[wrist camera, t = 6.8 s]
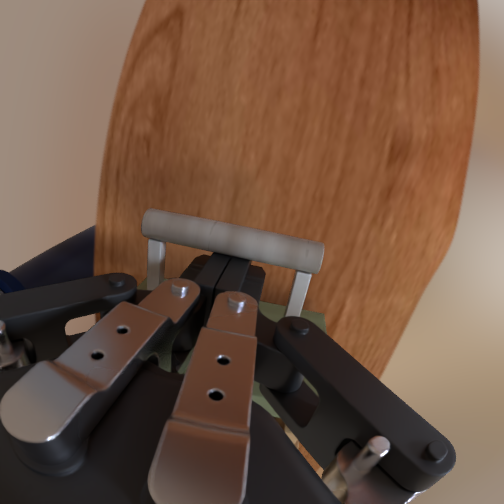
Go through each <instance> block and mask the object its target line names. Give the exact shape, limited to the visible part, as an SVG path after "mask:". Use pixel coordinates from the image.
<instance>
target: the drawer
mask: <svg viewBox="0 0 504 504" xmlns="http://www.w3.org/2000/svg"><path fill="white" fill-rule="evenodd" d="M141 231H142V235H143V236H144V237H147V238H150V239H149V240H148V264H147V278H146V279H145V280H144V281H143V282H142V283H141V284H140V285H139V286H138V287H137V289H141V290H154V289H155V288H156V287H157V286H158V285H160V284H161V283H162V282H163V281H165V280H167V279H165V278H164V269H165V251H166V242H169V243H174V244H178V245H183V246H188V247H192V248H197V249H201V250H206V251H211V252H215V253H220V254H224V255H229V256H234V257H238V258H243V259H248V260H252V261H257V262H262V263H267V264H271V265H276V266H281V267H285V268H290V269H295V274H294V278H293V282H292V286H291V289H290V293H289V297H288V301H287V305H286V306H282V305H277V304H272V303H268V302H263V301H260V302H259V306H258V307H259V310H260V311H261V313H262V314H263V315H264V316H266V317H267V318H269V319H270V320H272V321H275V322H278V321H279V320H280V319H281V318H283V317H286V316H298V317H302V318H305V319H308V320H310V321H312V322H313V323H315V324H316V325H317V326H318V327H319V328H320V329H321V330H323V331H324V332H325V333H326V334H327V332H326V324H325V317H324V314H322V313H317V312H312V311H307V310H302V307H303V303H304V300H305V296H306V293H307V290H308V286H309V282H310V279H311V273H314V274H317V273H318V272H319V270H320V267H321V264H322V260H323V255H324V244H323V243H321V242H316V241H312V240H307V239H303V238H298V237H293V236H289V235H284V234H279V233H274V232H270V231H265V230H260V229H255V228H250V227H245V226H240V225H236V224H231V223H226V222H221V221H215V220H210V219H205V218H200V217H195V216H190V215H185V214H179V213H174V212H169V211H163V210H158V209H153V208H150V209H148V210H147V211H146V212H145V214H144V216H143V219H142V224H141ZM188 365H189V363H188ZM188 365H187V367H186V368H185V370H184V372H183V373H182V374H185V373H186V371H187V368H188ZM303 381H304V382H305V383H306V384H307V385H308V386H309V387H310V388H311V389H312V390H313V391H314V392H315V393H316V395H317V396H318V397H319V395H318V393H317V391H316V389H315V388H314V387H313V386H312V385H311V384H310V382H309V381H308V380H307V379H306V378H305V377H304V379H303ZM259 384H260V383H258V382H256V381H254V383H253V395H252V401H254V402H256V403H257V404H259V405H260V406H262V407H263V408H264V409H265V410H267V411H268V412H269V413H270V414H271V415H272V416H273V417H274V418H275V419H276V421H277V422H278V423H279V425H280V426H281V427H282V429H283V430H284V432H285V433H286V434H287V436H288V437H289V438H290V440H291V441H292V442H293V444H294V445H295V443H296V441H297V438H296V437H295V435H294V434H293V433H292V432H291V431H290V429H289V428H288V427H287V426H286V424H285V423H284V422H283V421H282V419H281V418H280V417H279V416H278V414H277V413H276V412H275V411H274V409H273V408H272V407H271V406H270V404H269V403H268V402H267V400H266V399H265V398H264V396H263V395H262V394H261V392H260V390H259Z"/></svg>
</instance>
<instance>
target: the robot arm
mask: <svg viewBox="0 0 504 504" xmlns="http://www.w3.org/2000/svg"><path fill="white" fill-rule="evenodd" d="M251 261H252V260H248V259H243V258H238V257H234V256H229V255H224V254H220V253H215V252H214V253H213V254H212V255H211V256H209V255H201V256H199V257H196V258H195V259H194V260H193V261H192V263H191V264H190V265H189V266H188V268H187V269H186V270H185V271H184V272H183V273H182V275H181V276H180V277H179V278H171V279H167V280H165V281H163V282H162V283H161V284H160V285H158V286H157V287H156V288H155V289H154V290H141V289H137V281H136V279H135V278H134V277H132V276H131V275H128V274H125V273H110V274H104V275H99V276H94V277H89V278H83V279H78V280H73V281H68V282H63V283H58V284H52V285H47V286H42V287H37V288H32V289H27V290H22V291H17V292H11V293H5V292H4V291H3V290H2V289H1V288H0V504H408V503H409V502H411V501H412V500H414V499H415V498H416V497H418V496H419V495H420V494H422V493H423V492H425V491H426V490H427V489H429V488H430V487H431V486H433V485H434V484H435V483H436V482H438V481H439V480H440V479H441V478H442V477H444V476H445V475H446V474H447V473H448V472H450V471H451V470H452V468H453V467H454V465H455V462H456V453H455V450H454V447H453V446H452V444H451V443H450V441H449V440H448V439H447V438H445V437H444V436H443V435H442V434H441V433H440V432H439V431H437V430H436V429H435V428H434V427H433V426H431V425H430V424H429V423H428V422H427V421H426V420H425V419H423V418H422V417H421V416H420V415H419V414H418V413H416V412H415V411H414V410H413V409H412V408H411V407H409V406H408V405H407V404H406V403H405V402H404V401H402V400H401V399H400V398H399V397H398V396H397V395H395V394H394V393H393V392H392V391H391V390H390V389H389V388H387V387H386V386H385V385H384V384H383V383H381V381H379V380H378V379H377V378H376V377H375V376H374V375H373V374H371V373H370V372H369V371H368V370H367V369H366V368H365V367H363V366H362V365H361V364H360V363H359V362H358V361H357V360H355V359H354V358H353V357H352V356H351V355H350V354H349V353H347V352H346V351H345V350H344V349H343V348H342V347H341V346H340V345H338V344H337V343H336V342H335V341H334V340H333V339H332V338H330V337H329V336H328V335H327V334H326V333H325V332H324V331H323V330H321V329H320V328H319V327H318V326H317V325H316V324H315V323H313V322H312V321H310V320H308V319H305V318H302V317H298V316H286V317H283V318H281V319H280V320H279V321H278V322H275V321H272V320H270V319H269V318H267V317H266V316H264V315H263V314H262V313H261V311H260V310H259V307H258V306H259V302H260V297H261V293H262V288H263V284H264V279H265V275H266V273H265V272H264V270H263V268H262V267H258V266H253V265H251ZM99 312H100V314H101V320H99V321H98V322H97V323H96V324H95V325H94V326H93V327H91V328H90V329H89V330H88V331H87V332H82V333H79V334H75V335H70V336H69V335H66V333H65V325H66V323H67V322H68V321H69V320H71V319H74V318H78V317H82V316H87V315H91V314H95V313H99ZM188 363H189V365H188ZM187 365H188V368H187V371H186V373H185V374H182V373H183V372H184V370H185V368H186V367H187ZM304 377H305V378H306V379H307V380H308V381H309V382H310V384H311V385H312V386H313V387H314V388H315V389H316V391H317V393H318V395H319V397H318V396H317V395H316V393H315V392H314V391H313V390H312V389H311V388H310V387H309V386H308V385H307V384H306V383H305V382H304V381H303V379H304ZM254 381H256V382H258V383H260V384H259V390H260V392H261V394H262V395H263V396H264V398H265V399H266V400H267V402H268V403H269V404H270V406H271V407H272V408H273V409H274V411H275V412H276V413H277V414H278V416H279V417H280V418H281V419H282V421H283V422H284V423H285V424H286V426H287V427H288V428H289V429H290V431H291V432H292V433H293V434H294V435H295V437H296V438H297V439H298V440H299V442H300V443H301V444H302V445H303V446H304V447H305V449H306V450H307V451H308V452H309V453H310V455H311V456H312V457H313V458H314V459H315V460H316V462H317V463H318V464H319V465H320V466H321V467H322V468H323V470H324V471H323V474H322V479H321V478H320V477H319V476H318V474H317V473H316V472H315V471H314V469H313V468H312V467H311V466H310V464H309V463H308V462H307V460H306V459H305V458H304V457H303V455H302V454H301V453H300V451H299V450H298V449H297V448H296V446H295V445H294V444H293V442H292V441H291V440H290V438H289V437H288V436H287V434H286V433H285V432H284V430H283V429H282V427H281V426H280V425H279V423H278V422H277V421H276V419H275V418H274V417H273V416H272V415H271V414H270V413H269V412H268V411H267V410H265V409H264V408H263V407H262V406H260V405H259V404H257V403H256V402H254V401H252V395H253V383H254Z"/></svg>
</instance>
